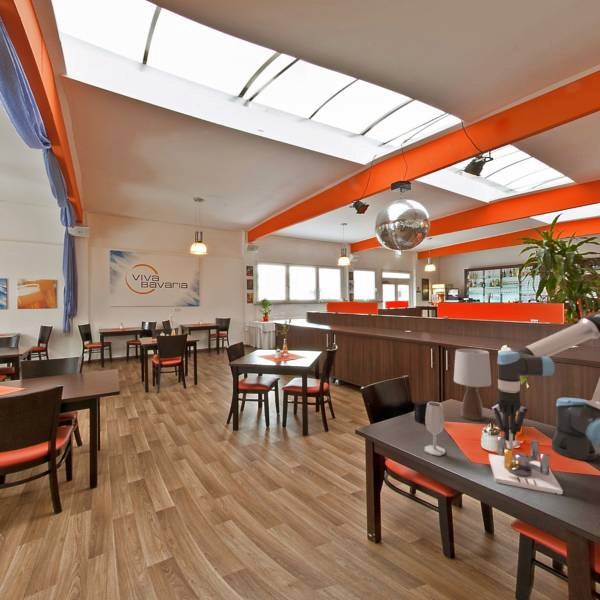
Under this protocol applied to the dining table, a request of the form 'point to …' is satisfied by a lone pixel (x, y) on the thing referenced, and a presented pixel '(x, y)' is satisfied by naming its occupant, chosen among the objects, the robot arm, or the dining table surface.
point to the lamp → (472, 379)
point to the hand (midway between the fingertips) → (509, 448)
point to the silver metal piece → (523, 459)
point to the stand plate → (524, 477)
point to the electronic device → (420, 410)
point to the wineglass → (434, 426)
